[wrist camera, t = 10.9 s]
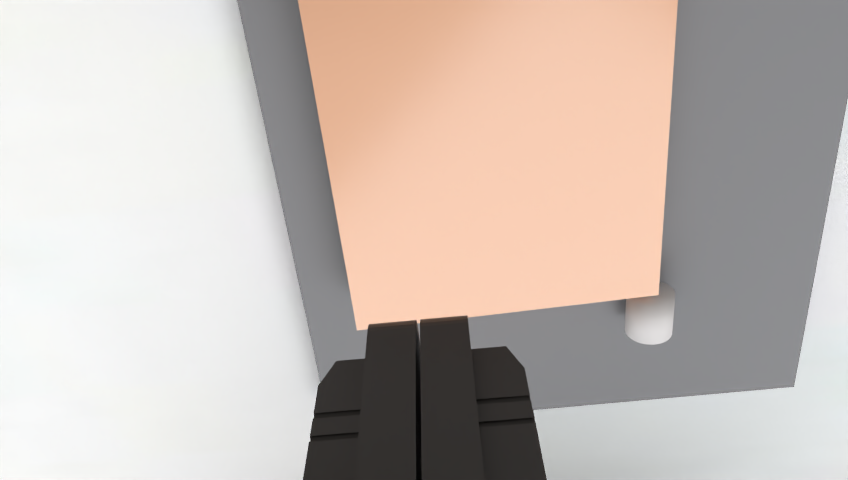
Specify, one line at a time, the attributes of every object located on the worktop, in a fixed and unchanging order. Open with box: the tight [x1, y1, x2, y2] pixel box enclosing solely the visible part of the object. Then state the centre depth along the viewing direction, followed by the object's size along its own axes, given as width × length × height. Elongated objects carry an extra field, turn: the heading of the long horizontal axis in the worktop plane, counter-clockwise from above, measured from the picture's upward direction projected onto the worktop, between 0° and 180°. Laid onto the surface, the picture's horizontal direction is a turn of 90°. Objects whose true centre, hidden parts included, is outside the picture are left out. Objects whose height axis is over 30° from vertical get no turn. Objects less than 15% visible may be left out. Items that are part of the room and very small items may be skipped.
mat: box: [237, 0, 848, 410], centre depth 23 cm, size 26×18×3 cm
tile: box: [298, 0, 678, 330], centre depth 22 cm, size 14×10×2 cm
